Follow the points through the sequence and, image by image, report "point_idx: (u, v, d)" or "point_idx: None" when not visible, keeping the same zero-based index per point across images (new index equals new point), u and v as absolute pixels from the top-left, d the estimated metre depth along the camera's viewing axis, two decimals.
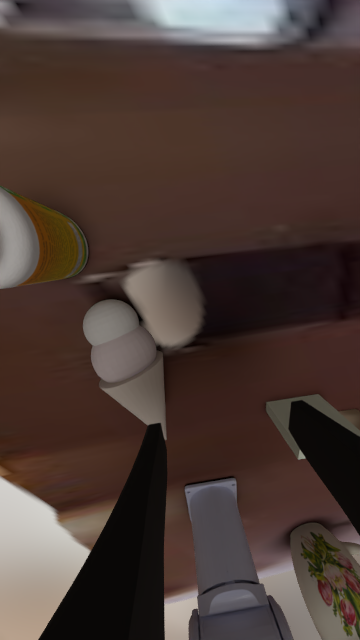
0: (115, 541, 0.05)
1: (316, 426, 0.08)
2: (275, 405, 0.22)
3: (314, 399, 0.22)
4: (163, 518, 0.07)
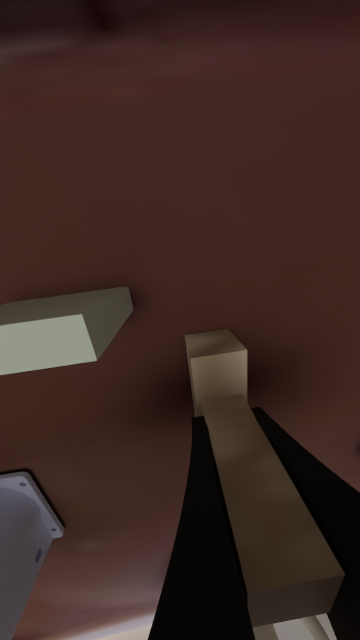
0: (199, 526, 0.05)
1: (265, 434, 0.08)
2: (15, 303, 0.10)
3: (105, 290, 0.10)
4: None
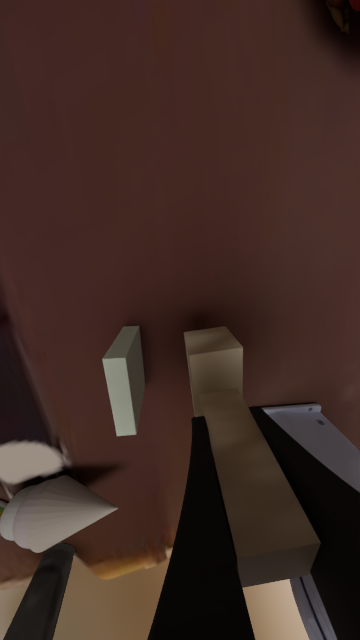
0: (199, 526, 0.05)
1: (265, 434, 0.08)
2: None
3: None
4: None
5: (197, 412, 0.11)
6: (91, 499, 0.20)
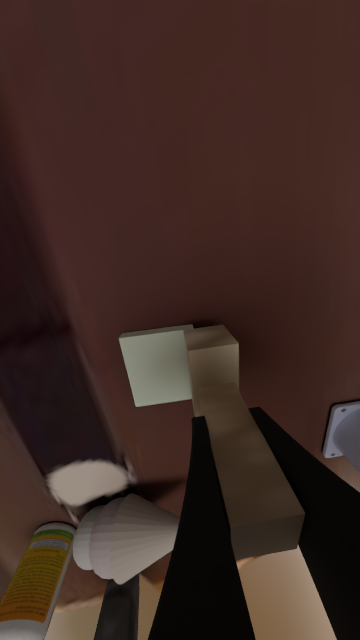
0: (199, 526, 0.05)
1: (265, 434, 0.08)
2: None
3: None
4: None
5: (196, 406, 0.11)
6: (169, 520, 0.18)
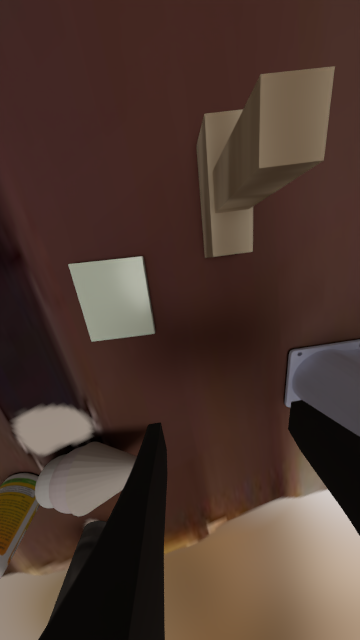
0: (115, 541, 0.05)
1: (316, 426, 0.08)
2: None
3: None
4: (163, 518, 0.07)
5: (210, 198, 0.12)
6: (128, 458, 0.18)
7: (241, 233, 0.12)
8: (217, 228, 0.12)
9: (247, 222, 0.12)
